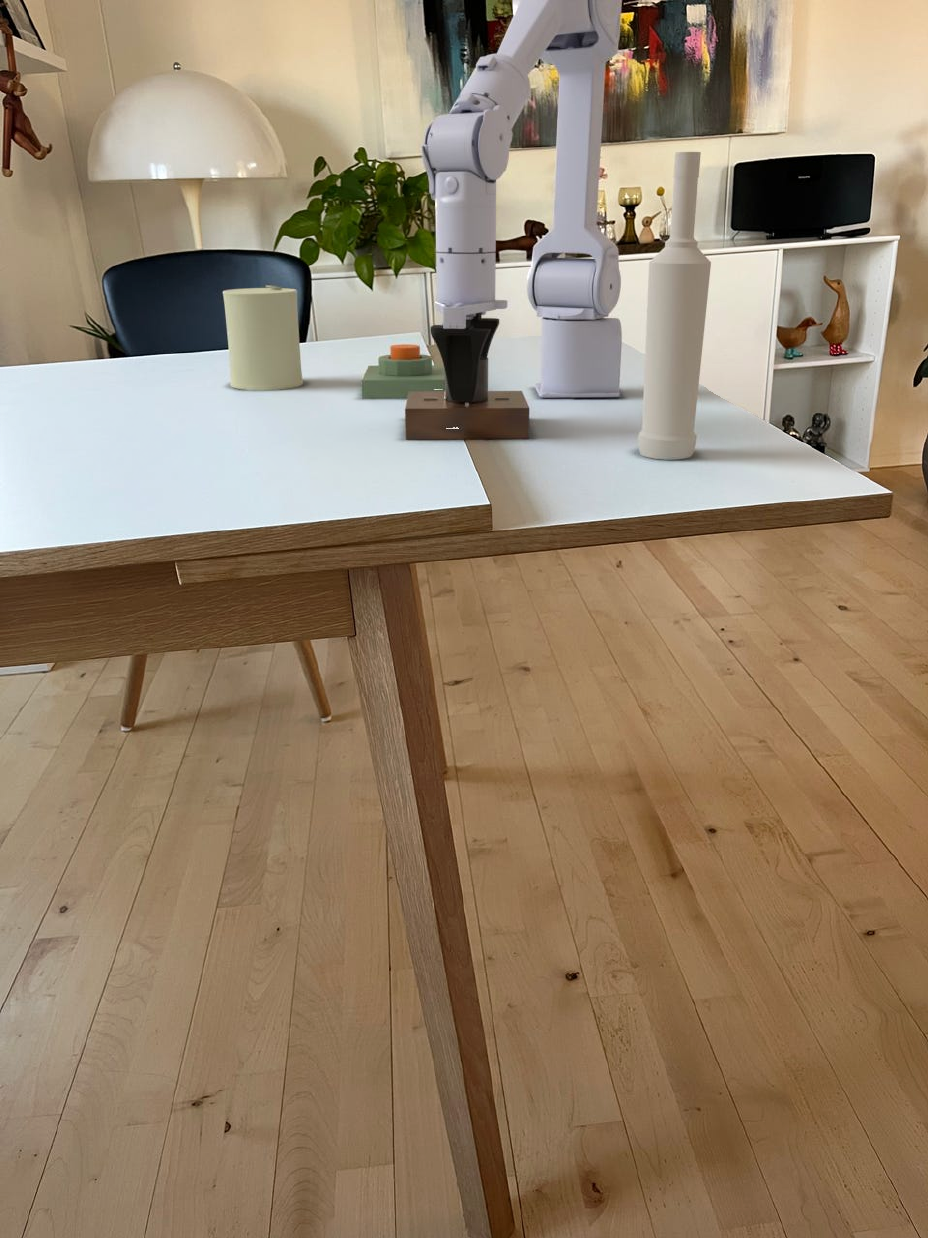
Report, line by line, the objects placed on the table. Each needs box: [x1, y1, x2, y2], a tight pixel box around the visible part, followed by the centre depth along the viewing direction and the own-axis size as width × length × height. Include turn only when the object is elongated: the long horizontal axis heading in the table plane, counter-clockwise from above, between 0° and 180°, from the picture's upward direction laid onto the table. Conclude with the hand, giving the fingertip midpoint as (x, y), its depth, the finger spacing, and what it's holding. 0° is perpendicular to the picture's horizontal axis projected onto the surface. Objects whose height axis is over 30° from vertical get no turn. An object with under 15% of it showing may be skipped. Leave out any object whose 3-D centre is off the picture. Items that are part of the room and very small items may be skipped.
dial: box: [444, 356, 489, 403], centre depth 101 cm, size 4×4×4 cm
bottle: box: [637, 151, 712, 461], centre depth 87 cm, size 5×5×25 cm
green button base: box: [360, 353, 444, 400], centre depth 124 cm, size 10×12×4 cm
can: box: [222, 285, 304, 391], centre depth 127 cm, size 9×9×12 cm
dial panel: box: [404, 390, 530, 440], centre depth 102 cm, size 12×10×3 cm
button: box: [389, 343, 421, 360], centre depth 123 cm, size 4×4×2 cm
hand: (466, 395), depth 102 cm, fingers closed on dial, 4 cm apart
